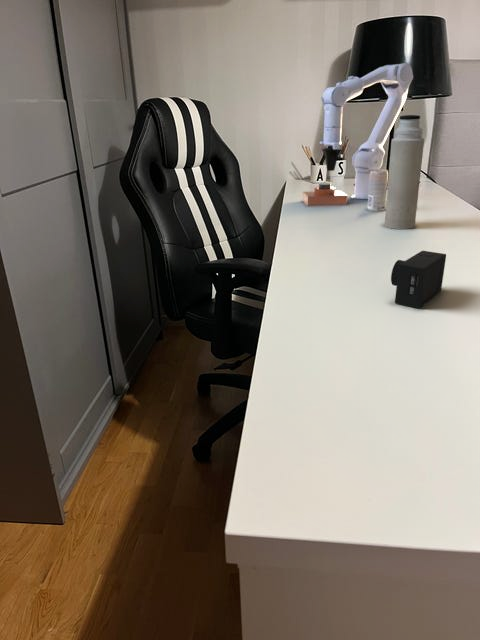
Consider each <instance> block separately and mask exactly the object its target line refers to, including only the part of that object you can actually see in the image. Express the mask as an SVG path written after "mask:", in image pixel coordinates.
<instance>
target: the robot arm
mask: <svg viewBox="0 0 480 640" xmlns="http://www.w3.org/2000/svg"><path fill="white" fill-rule="evenodd" d="M413 80H414V73H413V68H412V65H410V63H408V62H403V63H396V64H386V65H383V66H379V67H378V68H376V69H374V70H373V71H370V72H368V73H367V74H365V75H363V76H362V77H358V76H354V75H350V76H348V77H347V80H345V81H343V82H340V81H339V82H336V84H335V86H330V87H326V89H325V90H324V91H323V93H322V96H321V99H320V100H321V103H322V105H323V111H324V116H323V117H324V118H323V141H319V145H324V147H325V148H322V149H321V151H322V152H323V155H324V159H325V166H326V171H327V172H331V171H332V172H334V171H335V170H336V164H337V161H338V159H339V156H340V154H341V152H342V148H341V145H342V129H343V110H344V106H345V105H346V104H347V102H348V101H350V100H352V99H354V98H356V97H358V96H360V95H361V94H363V91H364V89H365V88H368V87H371V86H373V85H375V84H378V83H380V84H381V86H382V89H383V90H384V92H385V94H386V95H387V97H388V98H387V100H386V102H385V104H384V106H383V108H382V111H381V112H380V115H379V117H378V119H377V120H376V122H375V125H374V126H373V129H372V131H371V133H370V135H369V136H368V139H367V141H365V142H364V143H362V144H361V145H360V146H359V148H358V150H356V152H355V153H353V155H352V158H351V164H352V167H353V168H354V172H355V178H354V194H352V195H351V196H350V199H358V200H359V199H361V200H362V199H363V200H368V194H369V180H370V172H371V170H375V169H381V167H382V165H383V162H384V157H385V154H386V151H385V150H384V148H383V146H384V144H385V142H386V140H387V139H388V136H389V134H390V132H391V130H392V128H393V126H394V124H395V122H396V120H397V118H398V117H399V115H400V112H401V110H402V108H403V107H404V105H405V102H406V100H407V97H408V92H409V88H410V85H411V83H412V81H413Z"/></svg>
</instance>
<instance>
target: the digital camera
mask: <svg viewBox="0 0 480 640" xmlns="http://www.w3.org/2000/svg"><path fill="white" fill-rule="evenodd" d="M446 260H447V254H446V253H442V252H435V251H428V250H421V251H419V252H417V253H416V254H414V255H413V256H410V257H409V258H407V259H406V260H401V259H398V260H396V261H395V262H394V265H393V266H392V269H391V275H390V283H391V285H392V286H395V288H396V289H395V298H394V303H395V304H396V305H400V306H404V307H405V306H406V307H410V308H414V309H418V310H419V309H421V308H422V307H423V306H425V305H427V303H429V301H431V300H432V299H433V298H434V297H436V296H437V295H438V294H439V293H441V292H442V287H443V281H444V274H445V266H446Z"/></svg>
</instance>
